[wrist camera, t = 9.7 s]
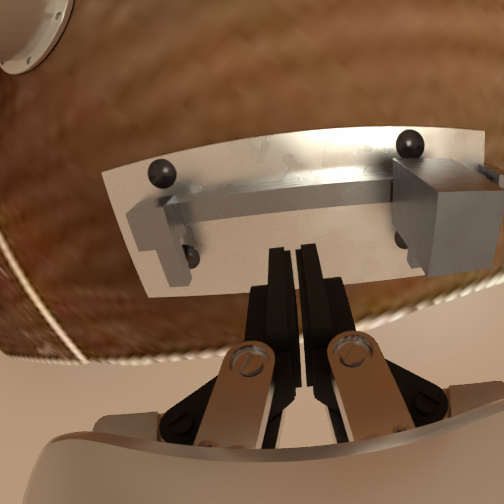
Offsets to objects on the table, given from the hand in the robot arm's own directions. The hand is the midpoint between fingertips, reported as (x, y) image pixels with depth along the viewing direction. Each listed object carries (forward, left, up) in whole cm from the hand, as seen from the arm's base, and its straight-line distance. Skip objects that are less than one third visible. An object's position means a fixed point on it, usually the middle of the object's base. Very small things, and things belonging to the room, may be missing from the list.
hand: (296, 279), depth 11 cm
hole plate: (+3, +1, -14) cm, 14 cm away
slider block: (+3, +10, -12) cm, 16 cm away
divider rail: (+3, +3, -13) cm, 13 cm away
